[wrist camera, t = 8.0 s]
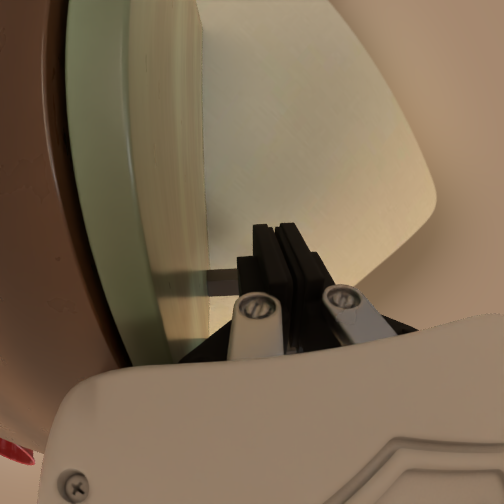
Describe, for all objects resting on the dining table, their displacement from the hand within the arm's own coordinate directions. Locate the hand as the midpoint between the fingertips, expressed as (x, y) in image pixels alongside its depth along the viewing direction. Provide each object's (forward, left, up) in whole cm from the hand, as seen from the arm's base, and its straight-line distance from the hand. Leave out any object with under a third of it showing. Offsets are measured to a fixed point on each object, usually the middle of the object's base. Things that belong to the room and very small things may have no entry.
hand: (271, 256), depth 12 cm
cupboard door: (-2, -1, -12) cm, 12 cm away
